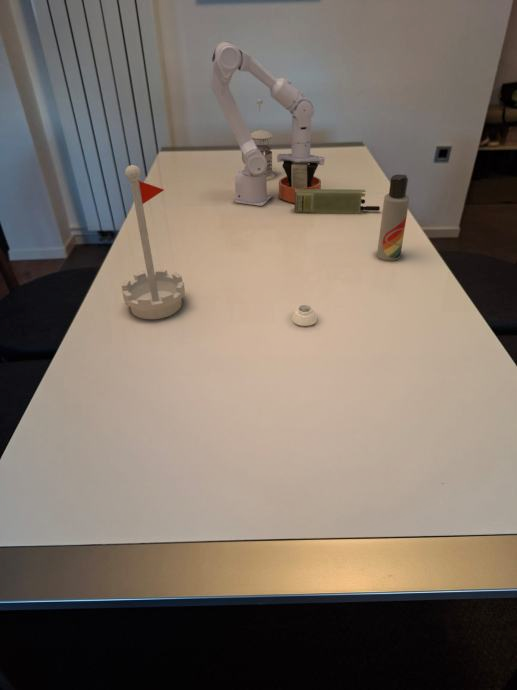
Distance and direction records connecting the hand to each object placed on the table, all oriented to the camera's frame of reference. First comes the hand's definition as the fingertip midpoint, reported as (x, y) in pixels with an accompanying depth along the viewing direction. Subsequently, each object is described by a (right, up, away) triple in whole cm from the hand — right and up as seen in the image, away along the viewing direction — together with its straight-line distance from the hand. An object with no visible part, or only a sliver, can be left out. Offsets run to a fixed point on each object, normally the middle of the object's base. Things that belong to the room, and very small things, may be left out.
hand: (300, 186), depth 157 cm
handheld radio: (+10, -11, -9) cm, 17 cm away
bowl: (0, -3, +2) cm, 3 cm away
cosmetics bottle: (0, -2, +2) cm, 3 cm away
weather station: (-12, +10, +21) cm, 26 cm away
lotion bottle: (+19, -28, -33) cm, 48 cm away
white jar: (-4, -46, -55) cm, 72 cm away
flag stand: (-35, -42, -49) cm, 73 cm away
